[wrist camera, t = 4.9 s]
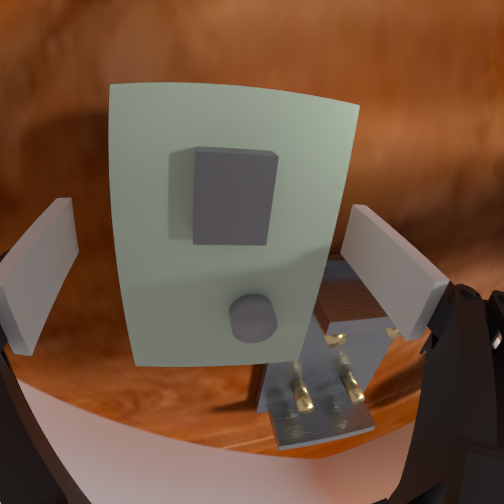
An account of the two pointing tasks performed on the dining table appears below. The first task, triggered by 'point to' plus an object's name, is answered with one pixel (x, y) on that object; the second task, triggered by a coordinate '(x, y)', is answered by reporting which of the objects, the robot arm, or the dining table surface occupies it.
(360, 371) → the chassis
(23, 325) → the robot arm
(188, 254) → the board
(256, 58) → the dining table surface
